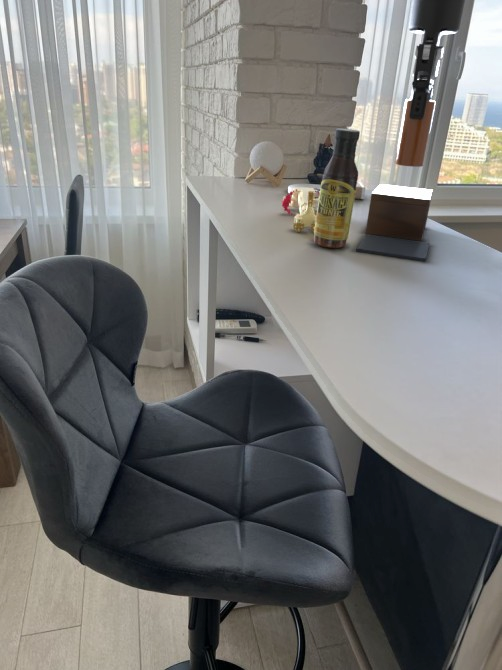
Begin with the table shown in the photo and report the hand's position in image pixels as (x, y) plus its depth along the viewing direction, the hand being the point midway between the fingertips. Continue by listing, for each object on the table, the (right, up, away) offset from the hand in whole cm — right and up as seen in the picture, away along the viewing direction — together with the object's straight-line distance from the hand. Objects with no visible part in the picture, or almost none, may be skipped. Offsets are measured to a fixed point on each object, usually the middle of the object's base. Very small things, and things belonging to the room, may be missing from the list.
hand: (417, 118), depth 83 cm
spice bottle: (0, -7, +3) cm, 7 cm away
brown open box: (+3, -14, +22) cm, 26 cm away
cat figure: (-16, -10, +28) cm, 34 cm away
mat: (-1, -20, +10) cm, 22 cm away
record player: (-7, +2, +54) cm, 55 cm away
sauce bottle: (-13, -19, +10) cm, 25 cm away
